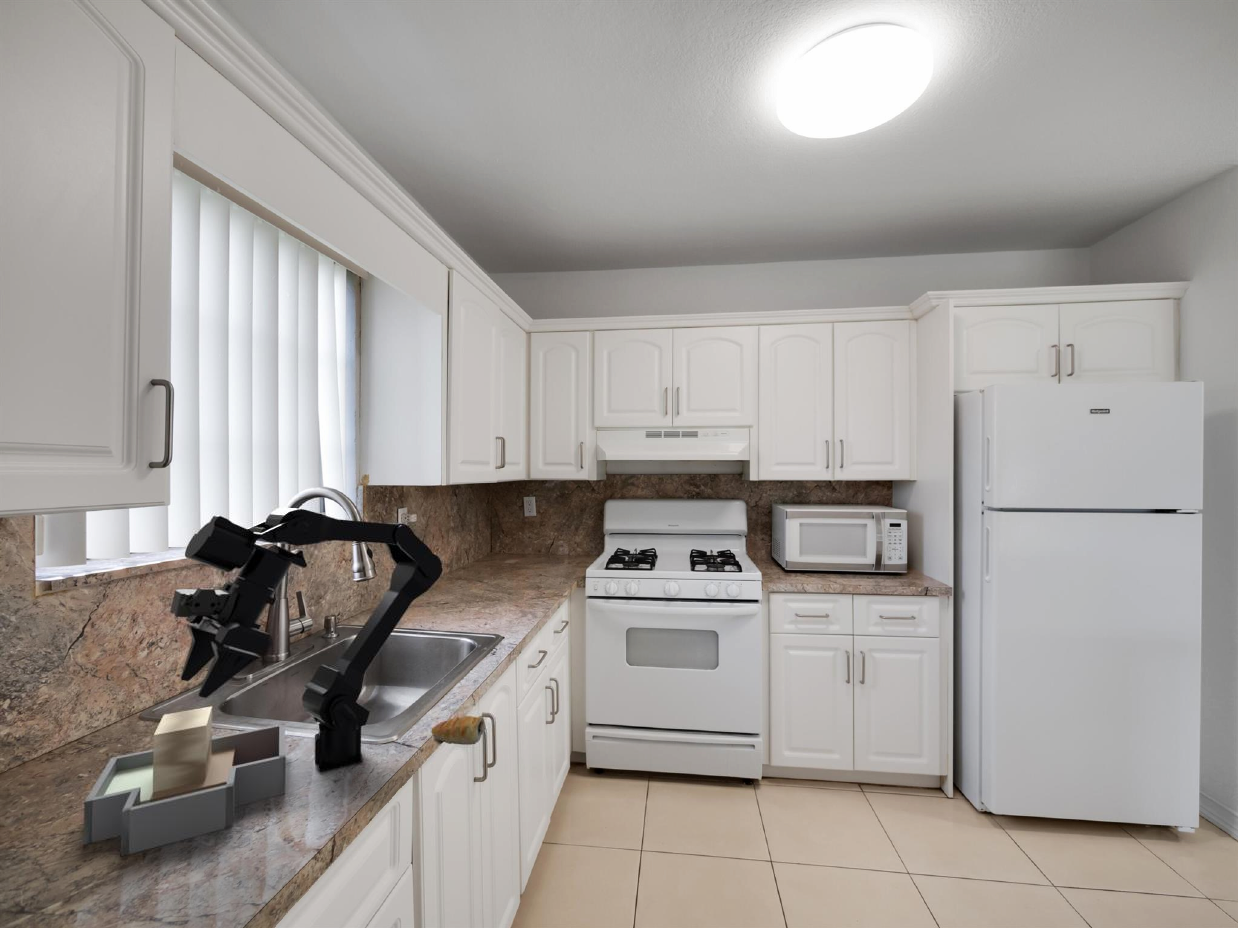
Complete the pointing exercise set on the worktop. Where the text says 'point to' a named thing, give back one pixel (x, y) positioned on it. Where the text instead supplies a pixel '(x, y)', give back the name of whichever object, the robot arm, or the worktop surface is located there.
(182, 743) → the block
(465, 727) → the pastry
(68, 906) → the worktop surface
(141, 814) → the box
